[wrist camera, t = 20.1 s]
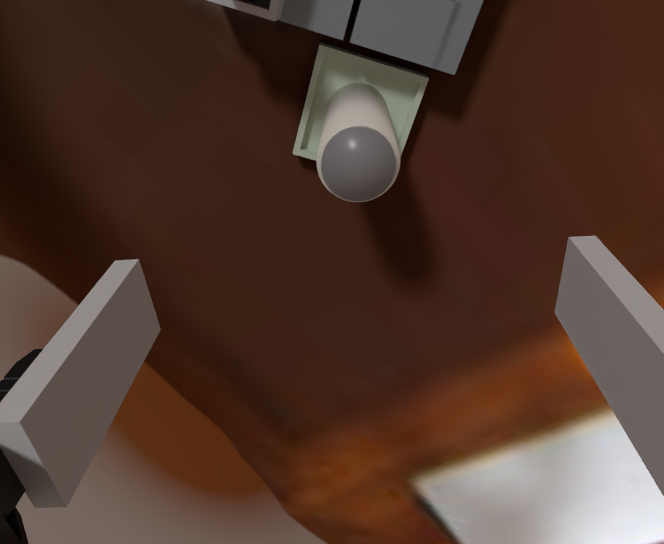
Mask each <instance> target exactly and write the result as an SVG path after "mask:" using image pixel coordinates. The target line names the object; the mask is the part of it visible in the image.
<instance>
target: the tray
mask: <svg viewBox="0 0 664 544" xmlns="http://www.w3.org/2000/svg"><path fill="white" fill-rule="evenodd" d="M428 80H429V78H428V76H427V75H426V74H423V73H420V72H416V71H413V70H410V69H407V68H403V67H400V66H397V65H394V64H391V63H387V62H384V61H381V60H378V59H374V58H371V57H368V56H365V55H361V54H358V53H355V52H352V51H349V50H345V49H342V48H339V47H336V46H332V45H329V44H326V43H323V42H320V44H319V48H318V52H317V56H316V60H315V64H314V68H313V73H312V77H311V81H310V85H309V89H308V93H307V97H306V101H305V105H304V109H303V113H302V117H301V121H300V126H299V130H298V134H297V138H296V142H295V146H294V150H293V154H294V155H298V156H302V157H305V158H309V159H312V160H316V161H317V153H318V148H319V143H320V138H321V133H322V128H323V123H324V118H325V113H326V108H327V105H328V102H329V100H330V98H331V96H332V95H333V94H334V93H335V92H336V91H337V90H338V89H339V88H341V87H342V86H344V85H346V84H350V83H355V82H360V83H365V84H369V85H371V86H373V87H374V88H376V89H377V90H378V91H379V92H380V93H381V94H382V96H383V97H384V99H385V101H386V103H387V107H388V111H389V114H390V118H391V122H392V126H393V130H394V134H395V137H396V141H397V145H398V149H399V153H400V157H401V155H402V152H403V149H404V146H405V143H406V141H407V138H408V135H409V132H410V130H411V127H412V124H413V121H414V119H415V116H416V113H417V110H418V108H419V105H420V102H421V99H422V96H423V94H424V91H425V88H426V85H427V83H428Z"/></svg>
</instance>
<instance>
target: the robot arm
mask: <svg viewBox="0 0 664 544" xmlns="http://www.w3.org/2000/svg"><path fill="white" fill-rule="evenodd" d="M555 314H556V316H557V318H558V319H559V321H560V323H561V324H562V326H563V328H564V330H565V331H566V333H567V335H568V336H569V338H570V340H571V341H572V343H573V345H574V346H575V348H576V350H577V351H578V353H579V355H580V356H581V358H582V360H583V361H584V363H585V365H586V367H587V368H588V370H589V372H590V373H591V375H592V377H593V378H594V380H595V382H596V383H597V385H598V387H599V388H600V390H601V392H602V393H603V395H604V397H605V398H606V400H607V402H608V404H609V405H610V407H611V409H612V410H613V412H614V414H615V415H616V417H617V419H618V420H619V422H620V424H621V425H622V427H623V429H624V430H625V432H626V434H627V435H628V437H629V439H630V441H631V442H632V444H633V446H634V447H635V449H636V451H637V452H638V454H639V456H640V457H641V459H642V461H643V462H644V464H645V466H646V467H647V469H648V471H649V472H650V474H651V476H652V477H653V479H654V481H655V483H656V484H657V486H658V488H659V489H660V491H661V493H662V494H663V496H664V310H663V309H662V308H661V307H660V306H659V305H658V303H657V302H656V301H655V300H654V299H653V298H652V297H651V296H650V295H649V294H648V293H647V292H646V290H645V289H644V288H643V287H642V286H641V285H640V284H639V283H638V282H637V281H636V280H635V278H634V277H633V276H632V275H631V274H630V273H629V272H628V271H627V270H626V269H625V268H624V267H623V265H622V264H621V263H620V262H619V261H618V260H617V259H616V258H615V257H614V256H613V255H612V253H611V252H610V251H609V250H608V249H607V248H606V247H605V246H604V245H603V244H602V243H601V242H600V240H599V239H598V238H597V237H596V236H581V237H568V243H567V248H566V254H565V259H564V265H563V270H562V275H561V281H560V286H559V292H558V297H557V303H556V308H555ZM160 330H161V329H160V326H159V322H158V319H157V316H156V313H155V310H154V306H153V303H152V300H151V297H150V294H149V291H148V287H147V284H146V281H145V278H144V275H143V271H142V268H141V265H140V262H139V259H137V260H118V261H114V263H113V264H112V265H111V266H110V268H109V269H108V270H107V271H106V273H105V274H104V275H103V276H102V277H101V279H100V280H99V281H98V282H97V284H96V285H95V286H94V287H93V289H92V290H91V291H90V292H89V293H88V295H87V296H86V297H85V298H84V300H83V301H82V302H81V303H80V305H79V306H78V307H77V308H76V310H75V311H74V312H73V313H72V314H71V316H70V317H69V318H68V319H67V321H66V322H65V323H64V325H63V326H62V327H61V328H60V329H59V331H58V332H57V333H56V334H55V335H54V337H53V338H52V339H51V340H50V342H49V343H48V344H47V345H46V346H45V348H44V349H35V350H33V351H32V352H31V353H29V354H28V355H26V356H25V357H23V358H22V359H21V360H19V361H18V362H16V364H15V365H14V366H13V367H12V368H11V369H10V371H9V372H8V373H7V374H6V376H5V377H4V380H1V381H0V544H28V540H27V536H26V533H25V529H24V526H23V522H22V518H21V515H20V514H19V512H18V510H17V509H16V507H15V506H16V505H17V503H18V501H19V500H20V498H21V497H22V495H23V493H24V492H25V493H26V494H27V496H28V497H29V499H30V501H31V502H32V504H33V506H34V507H35V508H42V507H67V505H68V504H69V502H70V500H71V498H72V496H73V494H74V492H75V491H76V489H77V487H78V485H79V483H80V481H81V479H82V477H83V475H84V474H85V472H86V470H87V468H88V466H89V464H90V462H91V460H92V458H93V457H94V455H95V453H96V451H97V449H98V447H99V445H100V443H101V441H102V440H103V438H104V436H105V434H106V432H107V430H108V428H109V426H110V424H111V422H112V420H113V419H114V417H115V415H116V413H117V411H118V409H119V407H120V405H121V404H122V402H123V400H124V398H125V396H126V394H127V392H128V390H129V388H130V387H131V384H132V383H133V381H134V379H135V377H136V375H137V373H138V371H139V370H140V368H141V366H142V364H143V362H144V360H145V358H146V356H147V354H148V353H149V351H150V349H151V347H152V345H153V343H154V341H155V339H156V337H157V336H158V334H159V332H160Z"/></svg>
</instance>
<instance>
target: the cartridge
mask: <svg viewBox="0 0 664 544" xmlns="http://www.w3.org/2000/svg"><path fill="white" fill-rule="evenodd" d="M399 168H400V153H399V149H398V145H397V141H396V137H395V134H394V130H393V126H392V122H391V118H390V114H389V111H388V107H387V103H386V101H385V99H384V97H383V96H382V94H381V93H380V92H379V91H378V90H377V89H376V88H374V87H373V86H371V85H369V84H365V83H360V82H355V83H350V84H346V85H344V86H342V87H341V88H339V89H338V90H337V91H336V92H335V93H334V94H333V95H332V96H331V98H330V100H329V102H328V105H327V108H326V113H325V118H324V123H323V128H322V133H321V138H320V143H319V148H318V153H317V171H318V174H319V177H320V179H321V181H322V183H323V184H324V186H325V187H326V188H327V189H328V190H329V191H330V192H331V193H332V194H334V195H335V196H337V197H339V198H341V199H343V200H346V201H351V202H365V201H370V200H373V199H375V198H377V197H379V196H381V195H382V194H384V193H385V192H386V191H387V190H388V189H389V188H390V187H391V186H392V185H393V183H394V182H395V180H396V178H397V175H398V173H399Z"/></svg>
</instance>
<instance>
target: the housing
mask: <svg viewBox="0 0 664 544" xmlns="http://www.w3.org/2000/svg"><path fill="white" fill-rule="evenodd" d="M207 1H211V2H214V3H217V4H220V5H223V6H227V7H230V8H233V9H236V10H240V11H243V12H246V13H249V14H252V15H256V16H259V17H262V18H265V19H268V20H272V21H277V20H279V21H282V22H285V23H289V24H292V25H295V26H298V27H302V28H305V29H308V30H311V31H314V32H318V33H321V34H324V35H327V36H330V37H334V38H337V39H340V40H343V38H344V34H345V31H346V27H347V23H348V19H349V16H350V12H351V8H352V4H353V1H354V0H207ZM482 3H483V0H360V1H359V5H358V8H357V12H356V16H355V19H354V23H353V27H352V30H351V34H350V43H353V44H356V45H359V46H363V47H366V48H369V49H372V50H375V51H379V52H382V53H385V54H388V55H391V56H395V57H398V58H401V59H404V60H408V61H411V62H414V63H417V64H420V65H424V66H427V67H430V68H433V69H436V70H440V71H443V72H446V73H449V74H452V75H455V73H456V70H457V68H458V65H459V63H460V60H461V57H462V55H463V52H464V50H465V47H466V44H467V42H468V39H469V37H470V34H471V31H472V29H473V26H474V24H475V21H476V18H477V16H478V13H479V11H480V8H481V5H482Z"/></svg>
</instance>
